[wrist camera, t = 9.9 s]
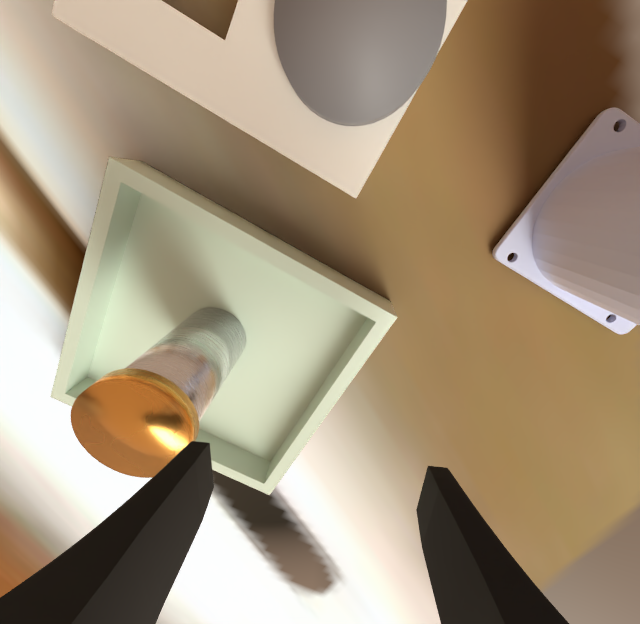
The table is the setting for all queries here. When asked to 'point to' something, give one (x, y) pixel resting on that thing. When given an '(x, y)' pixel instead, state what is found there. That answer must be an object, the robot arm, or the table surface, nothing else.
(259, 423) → the tray
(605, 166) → the robot arm
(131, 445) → the jar
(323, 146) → the plate
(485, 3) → the table surface
